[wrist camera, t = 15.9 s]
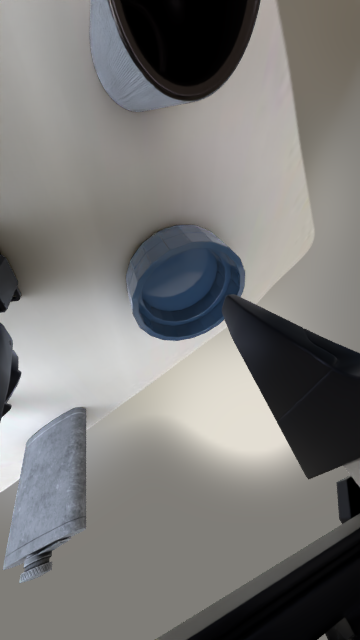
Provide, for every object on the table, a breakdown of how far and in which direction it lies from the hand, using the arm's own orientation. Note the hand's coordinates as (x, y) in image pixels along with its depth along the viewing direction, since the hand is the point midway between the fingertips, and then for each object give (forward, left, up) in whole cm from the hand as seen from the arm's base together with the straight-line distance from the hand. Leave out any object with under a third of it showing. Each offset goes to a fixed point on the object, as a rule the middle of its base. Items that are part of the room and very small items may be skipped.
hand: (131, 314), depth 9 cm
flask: (-14, -36, -13) cm, 41 cm away
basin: (+7, -7, -13) cm, 16 cm away
